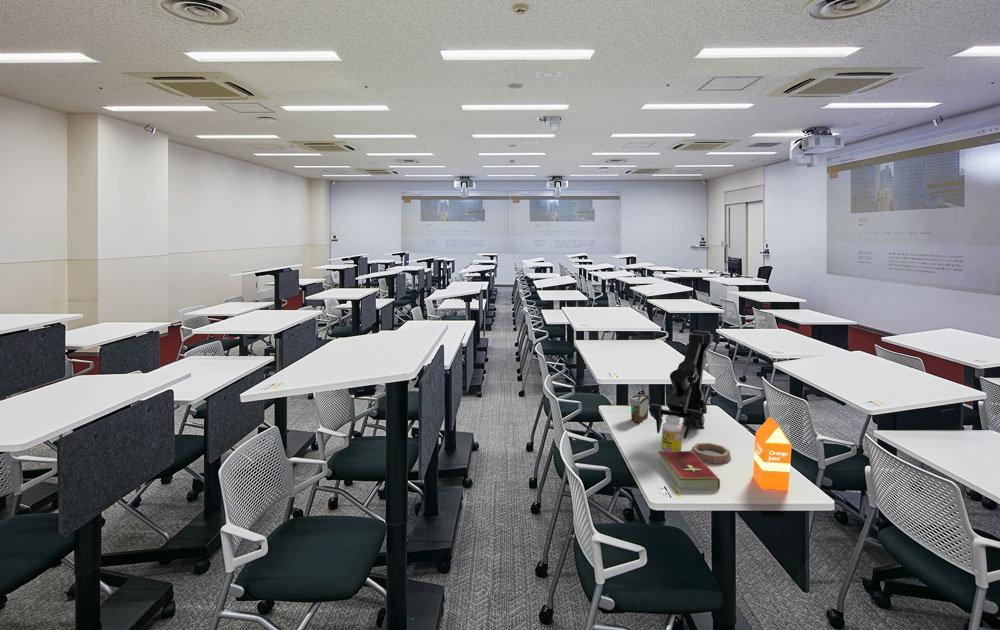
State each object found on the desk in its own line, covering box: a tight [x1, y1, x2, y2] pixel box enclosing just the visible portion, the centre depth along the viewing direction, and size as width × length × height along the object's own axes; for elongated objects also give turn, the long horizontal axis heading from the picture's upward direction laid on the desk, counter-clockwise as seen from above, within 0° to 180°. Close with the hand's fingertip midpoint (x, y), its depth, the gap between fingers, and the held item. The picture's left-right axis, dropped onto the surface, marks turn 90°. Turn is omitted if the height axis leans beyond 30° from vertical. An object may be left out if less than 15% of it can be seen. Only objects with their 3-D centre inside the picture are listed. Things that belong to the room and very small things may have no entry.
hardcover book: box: [658, 450, 721, 490], centre depth 171 cm, size 12×21×4 cm, turn 1°
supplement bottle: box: [661, 415, 683, 451], centre depth 188 cm, size 7×7×13 cm
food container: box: [629, 393, 651, 425], centre depth 223 cm, size 12×6×10 cm, turn 145°
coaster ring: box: [690, 442, 732, 465], centre depth 185 cm, size 13×13×3 cm
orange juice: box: [752, 416, 793, 492], centre depth 163 cm, size 8×9×20 cm
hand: (670, 435), depth 187 cm, fingers open, 9 cm apart
